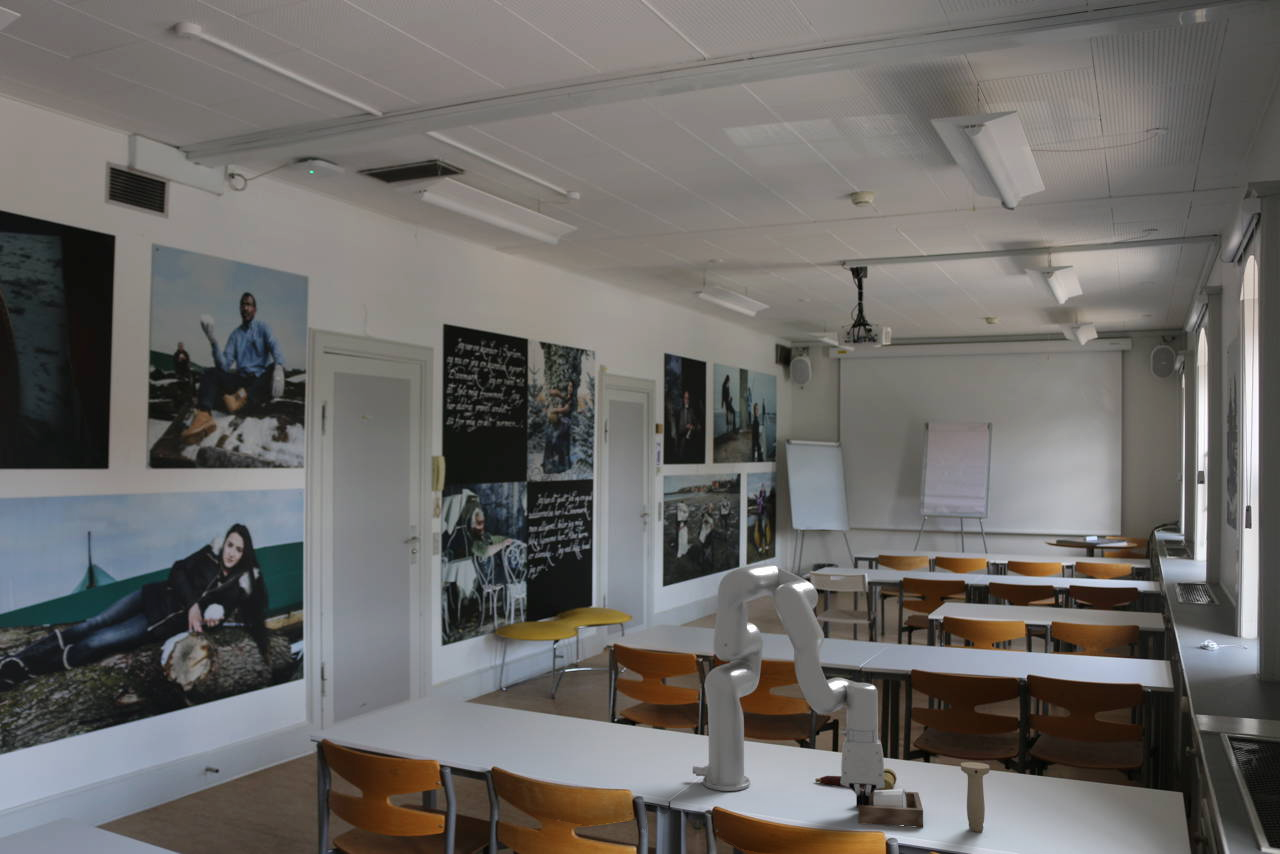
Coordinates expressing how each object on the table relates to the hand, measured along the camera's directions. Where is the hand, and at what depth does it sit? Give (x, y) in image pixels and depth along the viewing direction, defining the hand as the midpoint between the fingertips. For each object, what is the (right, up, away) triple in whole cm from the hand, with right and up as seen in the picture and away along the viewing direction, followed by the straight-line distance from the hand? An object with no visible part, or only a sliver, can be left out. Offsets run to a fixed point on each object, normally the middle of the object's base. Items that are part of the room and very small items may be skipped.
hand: (862, 810), depth 245 cm
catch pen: (+6, -1, -1) cm, 6 cm away
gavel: (+3, -2, +21) cm, 21 cm away
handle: (+24, -1, -11) cm, 26 cm away
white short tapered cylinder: (+3, +2, 0) cm, 4 cm away
